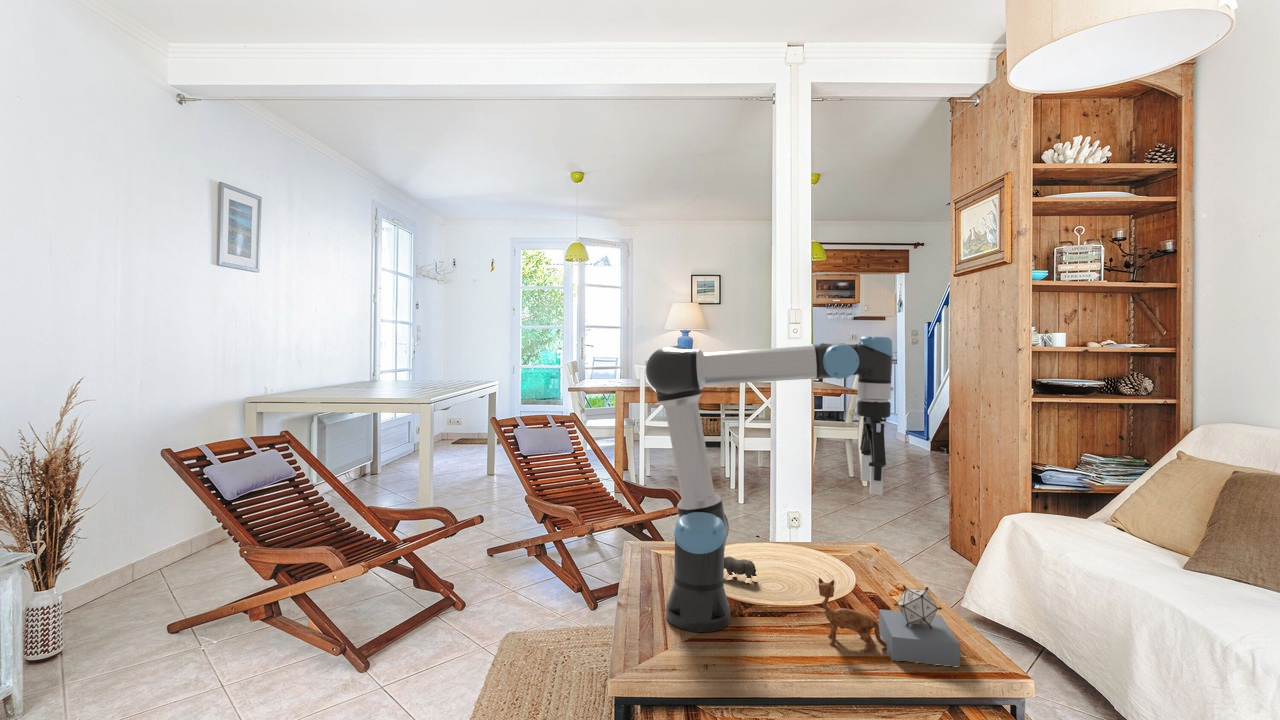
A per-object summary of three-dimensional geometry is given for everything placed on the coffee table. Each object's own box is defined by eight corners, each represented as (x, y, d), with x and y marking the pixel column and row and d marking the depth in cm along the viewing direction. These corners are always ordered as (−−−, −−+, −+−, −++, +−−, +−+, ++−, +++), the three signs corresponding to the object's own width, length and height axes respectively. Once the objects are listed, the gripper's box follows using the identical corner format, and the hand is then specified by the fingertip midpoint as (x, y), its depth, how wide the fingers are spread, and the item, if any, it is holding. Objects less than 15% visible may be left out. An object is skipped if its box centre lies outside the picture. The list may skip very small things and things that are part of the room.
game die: (923, 646, 127) (934, 622, 121) (884, 621, 132) (893, 597, 126) (939, 615, 132) (951, 591, 126) (901, 592, 137) (911, 567, 131)
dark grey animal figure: (711, 571, 170) (711, 550, 170) (758, 580, 164) (759, 559, 164) (706, 576, 167) (706, 555, 166) (754, 586, 161) (755, 564, 160)
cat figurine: (898, 647, 132) (903, 585, 131) (904, 662, 125) (909, 597, 125) (813, 633, 136) (817, 573, 135) (815, 647, 129) (820, 584, 129)
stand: (891, 660, 124) (892, 636, 124) (878, 630, 137) (879, 609, 136) (959, 668, 121) (960, 643, 121) (939, 637, 134) (940, 615, 134)
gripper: (902, 406, 132) (898, 501, 133) (880, 396, 157) (878, 476, 157) (866, 404, 134) (863, 498, 135) (850, 395, 158) (848, 474, 159)
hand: (871, 487), depth 146 cm, fingers open, 13 cm apart
